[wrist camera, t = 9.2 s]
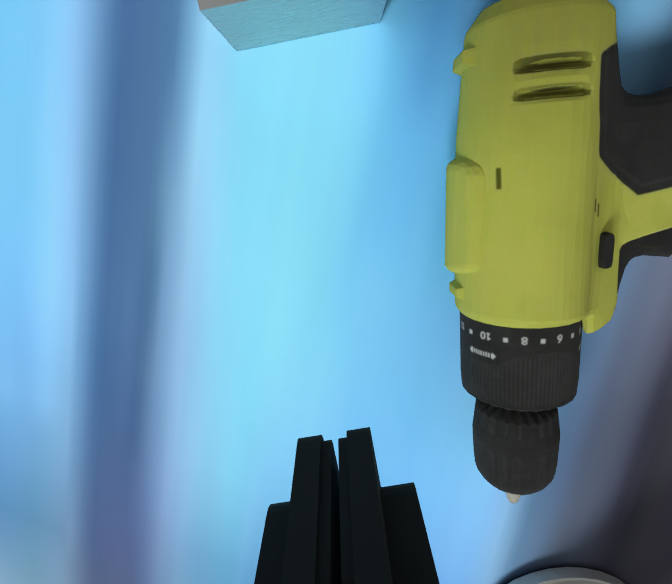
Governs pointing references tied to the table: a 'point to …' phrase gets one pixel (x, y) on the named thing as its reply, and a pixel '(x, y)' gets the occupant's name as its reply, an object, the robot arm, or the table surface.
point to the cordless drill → (545, 216)
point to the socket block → (286, 18)
